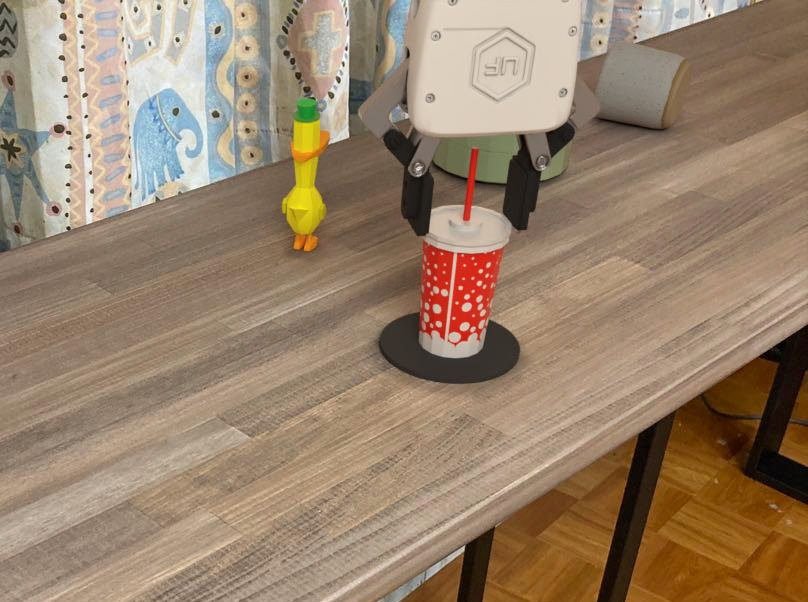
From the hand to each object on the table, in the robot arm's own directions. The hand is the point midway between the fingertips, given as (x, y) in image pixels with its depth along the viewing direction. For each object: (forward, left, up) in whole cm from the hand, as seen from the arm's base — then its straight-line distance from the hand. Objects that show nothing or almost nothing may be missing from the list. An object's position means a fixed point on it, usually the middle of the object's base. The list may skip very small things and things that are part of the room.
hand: (466, 222), depth 75 cm
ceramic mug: (-16, -54, -10) cm, 57 cm away
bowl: (-2, -38, -9) cm, 39 cm away
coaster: (0, 0, -9) cm, 9 cm away
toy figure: (+13, -15, -10) cm, 22 cm away
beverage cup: (0, 0, -9) cm, 9 cm away
